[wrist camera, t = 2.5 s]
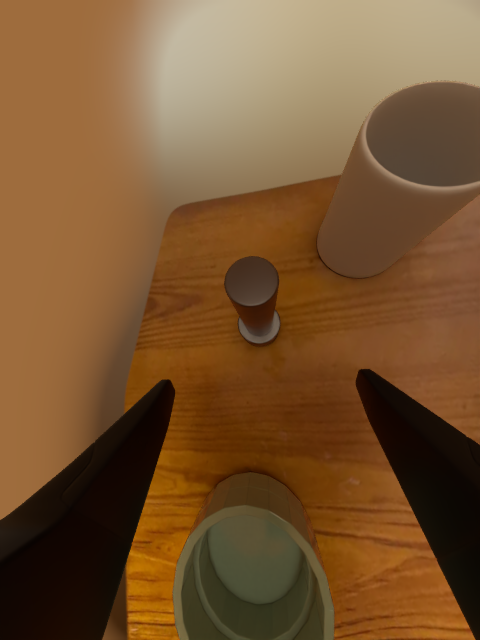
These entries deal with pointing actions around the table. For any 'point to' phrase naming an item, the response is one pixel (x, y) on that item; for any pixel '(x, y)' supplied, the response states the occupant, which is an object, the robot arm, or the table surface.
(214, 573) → the bowl
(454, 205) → the mug
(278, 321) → the muddler
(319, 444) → the table surface
